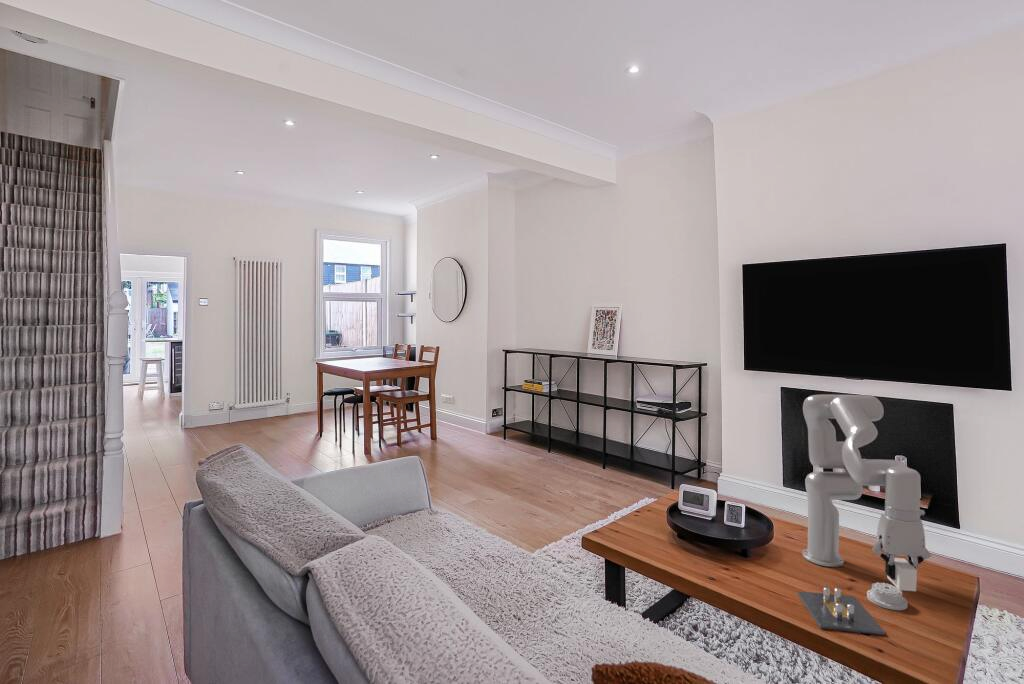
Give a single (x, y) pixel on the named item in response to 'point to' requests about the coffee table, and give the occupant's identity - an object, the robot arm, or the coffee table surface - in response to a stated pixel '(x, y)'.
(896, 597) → the mechanical component
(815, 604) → the base plate
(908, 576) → the jaw block
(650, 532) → the coffee table surface
